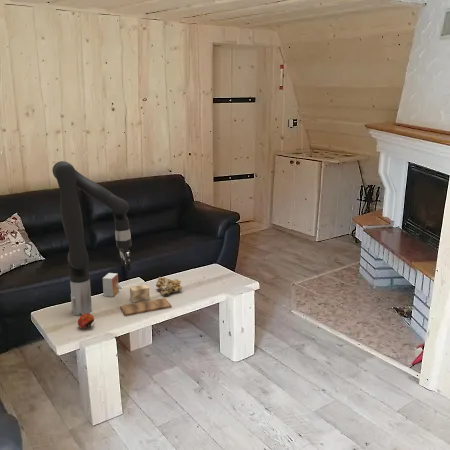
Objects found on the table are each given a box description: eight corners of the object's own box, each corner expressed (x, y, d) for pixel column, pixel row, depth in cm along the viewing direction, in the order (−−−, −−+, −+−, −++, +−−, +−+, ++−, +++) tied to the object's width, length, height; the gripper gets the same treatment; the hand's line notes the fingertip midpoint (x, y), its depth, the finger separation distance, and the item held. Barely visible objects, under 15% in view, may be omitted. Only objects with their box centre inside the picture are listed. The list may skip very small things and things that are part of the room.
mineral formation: (163, 298, 258) (149, 288, 269) (184, 295, 266) (169, 285, 277) (165, 284, 256) (151, 274, 267) (186, 282, 265) (171, 272, 276)
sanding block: (132, 303, 252) (132, 290, 250) (130, 299, 256) (129, 287, 255) (149, 300, 256) (149, 287, 254) (146, 296, 260) (146, 284, 258)
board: (125, 316, 237) (124, 314, 237) (120, 308, 246) (120, 306, 246) (171, 307, 247) (171, 305, 247) (165, 300, 256) (165, 297, 256)
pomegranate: (97, 330, 228) (86, 313, 232) (100, 322, 223) (89, 305, 227) (83, 337, 224) (72, 320, 227) (86, 329, 218) (75, 312, 222)
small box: (113, 297, 259) (112, 278, 256) (103, 296, 260) (102, 277, 257) (119, 291, 267) (118, 273, 264) (109, 290, 268) (108, 272, 265)
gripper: (112, 235, 247) (115, 264, 252) (119, 243, 235) (122, 274, 240) (127, 232, 250) (130, 262, 255) (134, 240, 238) (137, 271, 243)
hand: (126, 267), depth 247 cm, fingers open, 8 cm apart
